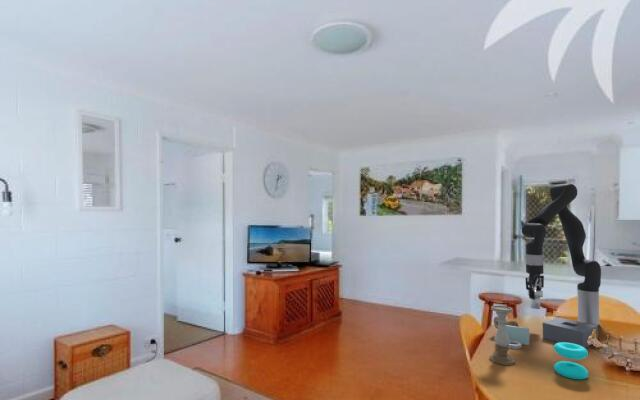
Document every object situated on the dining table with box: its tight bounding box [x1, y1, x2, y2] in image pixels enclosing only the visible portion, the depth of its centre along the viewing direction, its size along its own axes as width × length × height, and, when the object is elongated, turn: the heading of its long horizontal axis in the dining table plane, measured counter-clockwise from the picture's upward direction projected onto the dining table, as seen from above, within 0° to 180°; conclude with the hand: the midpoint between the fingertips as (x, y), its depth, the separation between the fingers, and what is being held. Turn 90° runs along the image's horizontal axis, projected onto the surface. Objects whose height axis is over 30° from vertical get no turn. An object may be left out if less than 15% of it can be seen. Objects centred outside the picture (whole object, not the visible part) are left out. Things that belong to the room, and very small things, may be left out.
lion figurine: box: [493, 315, 519, 330], centre depth 173 cm, size 15×5×9 cm, turn 109°
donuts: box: [553, 342, 589, 380], centre depth 130 cm, size 10×10×10 cm
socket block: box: [542, 316, 599, 349], centre depth 167 cm, size 16×16×7 cm
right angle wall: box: [506, 325, 530, 350], centre depth 158 cm, size 12×12×8 cm
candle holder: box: [489, 305, 516, 366], centre depth 142 cm, size 9×9×20 cm
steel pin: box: [527, 288, 544, 310], centre depth 181 cm, size 6×6×8 cm
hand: (535, 297), depth 181 cm, fingers closed on steel pin, 6 cm apart
